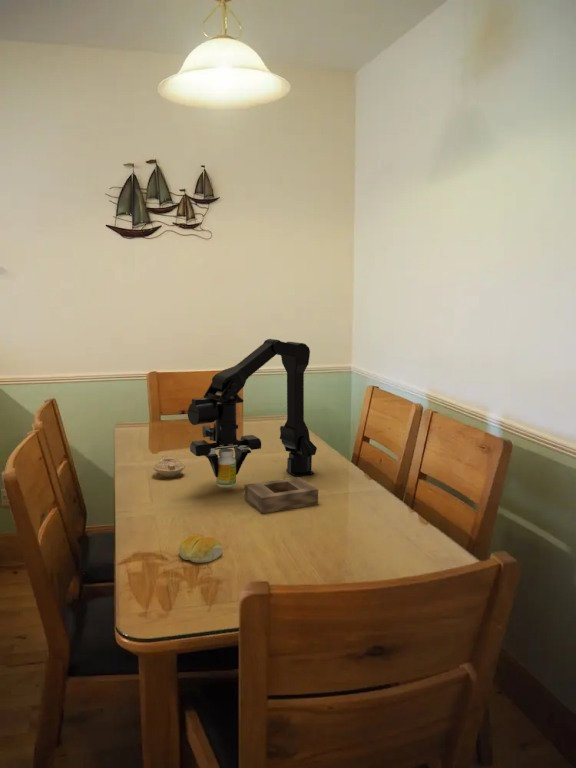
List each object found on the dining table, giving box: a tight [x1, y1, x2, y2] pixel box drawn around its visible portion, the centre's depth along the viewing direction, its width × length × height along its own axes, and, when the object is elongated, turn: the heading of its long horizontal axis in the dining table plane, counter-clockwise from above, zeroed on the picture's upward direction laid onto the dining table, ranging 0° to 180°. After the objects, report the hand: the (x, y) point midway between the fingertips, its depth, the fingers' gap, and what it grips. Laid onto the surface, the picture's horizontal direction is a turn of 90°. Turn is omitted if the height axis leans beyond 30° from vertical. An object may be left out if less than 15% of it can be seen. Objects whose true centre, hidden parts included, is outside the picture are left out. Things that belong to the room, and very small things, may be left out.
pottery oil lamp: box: [152, 455, 186, 478], centre depth 180 cm, size 9×12×7 cm
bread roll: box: [178, 533, 223, 564], centre depth 126 cm, size 8×9×4 cm
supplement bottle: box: [215, 448, 237, 488], centre depth 165 cm, size 5×5×10 cm
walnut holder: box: [244, 476, 319, 514], centre depth 158 cm, size 16×11×4 cm
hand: (226, 475), depth 165 cm, fingers closed on supplement bottle, 5 cm apart
